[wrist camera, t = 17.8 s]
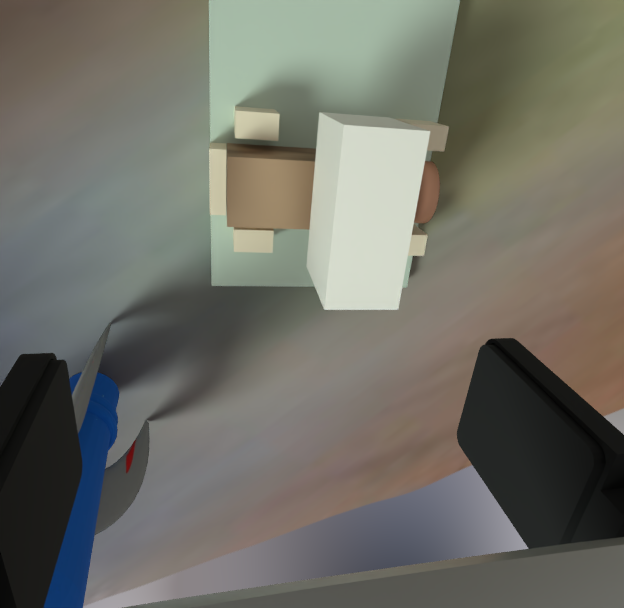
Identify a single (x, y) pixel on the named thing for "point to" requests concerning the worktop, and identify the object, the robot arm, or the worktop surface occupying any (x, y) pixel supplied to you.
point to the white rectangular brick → (363, 209)
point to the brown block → (290, 187)
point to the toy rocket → (95, 479)
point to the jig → (313, 100)
